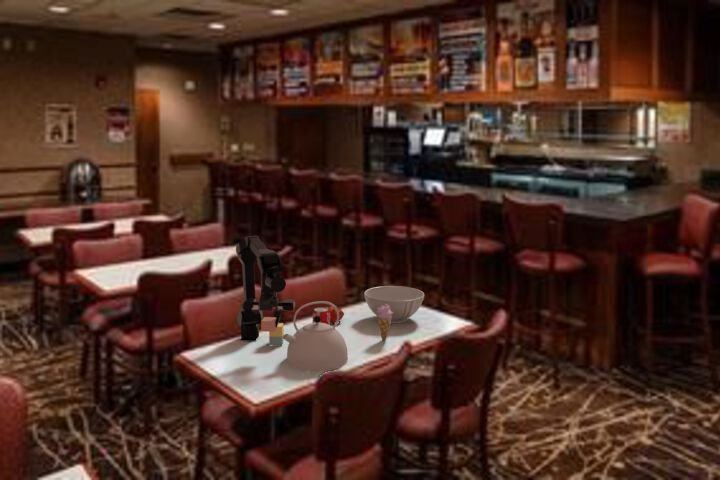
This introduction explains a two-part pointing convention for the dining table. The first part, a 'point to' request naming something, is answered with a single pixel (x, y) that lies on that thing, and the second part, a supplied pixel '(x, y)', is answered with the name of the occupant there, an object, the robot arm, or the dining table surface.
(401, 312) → the decorative bowl
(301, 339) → the kettle
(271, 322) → the terracotta brick
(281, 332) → the mustard brick
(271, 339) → the teal base brick
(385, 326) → the ice cream cone
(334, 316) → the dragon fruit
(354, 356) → the dining table surface
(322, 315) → the soda can
